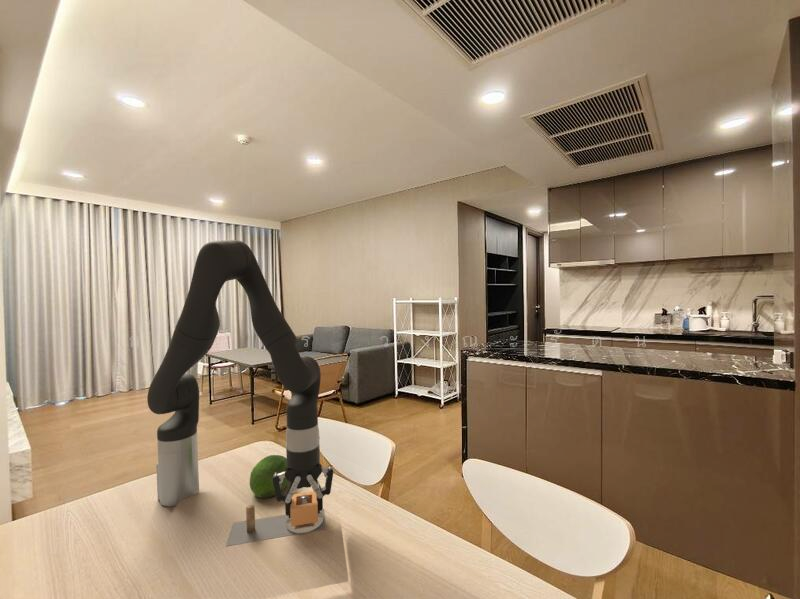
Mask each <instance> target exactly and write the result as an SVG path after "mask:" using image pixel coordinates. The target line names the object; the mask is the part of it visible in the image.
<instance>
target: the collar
mask: <svg viewBox="0 0 800 599" xmlns="http://www.w3.org/2000/svg"><path fill="white" fill-rule="evenodd" d="M302 495H308V504H301V501H300V497H301V496H302ZM290 517H291V526H297V525H303V524H309V523H315V522H318V503H317V497H316V493H315V492H314V490H313V491H306V492H299V493H294V495H293V496H292V504H291V507H290Z"/></svg>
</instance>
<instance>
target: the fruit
mask: <svg viewBox="0 0 800 599" xmlns="http://www.w3.org/2000/svg"><path fill="white" fill-rule="evenodd" d="M286 468H287V457H285V456H283V455H279V454H271V455H268V456H266V457H263V458H262V459H261V460H259V462H257V463H256V465H255V466H254V467H253V468H252V470H251V472H250V477H249V488H250V491H251V492H252V493H253V494H254V496H256V497H257V498H260V499H270V498H273V497H276V493H275V489H274V484H273V475H274V473H275V472H278V473H281V472H285V470H286ZM288 483H289V481H288V480H287V479H286V477H284V478H283V482H282V483H281V485H282V490H283V491H284V489H285V488H286V487H287V485H288Z"/></svg>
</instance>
